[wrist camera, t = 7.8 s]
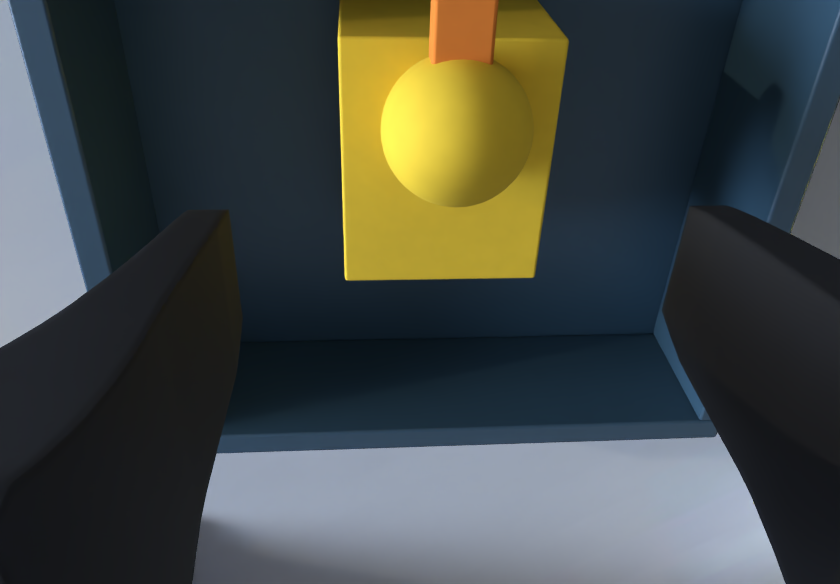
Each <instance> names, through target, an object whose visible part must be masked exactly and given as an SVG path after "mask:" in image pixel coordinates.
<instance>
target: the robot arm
mask: <svg viewBox="0 0 840 584" xmlns="http://www.w3.org/2000/svg"><path fill="white" fill-rule="evenodd" d="M662 313H663V316H664V319H665V322H666V325H667V328H668V331H669V334H670V337H671V340H672V343H673V345H674V348H675V351H676V353H677V356H678V359H679V361H680V363H681V365H682V367H683V369H684V371H685V373H686V375H687V377H688V378H689V380H690V382H691V384H692V386H693V388H694V390H695V392H696V393H697V395H698V397H699V399H700V401H701V403H702V404H703V406H704V408H705V410H706V412H707V414H708V415H709V417H710V419H711V421H712V423H713V424H714V426H715V428H716V430H717V432H718V434H719V435H720V437H721V439H722V441H723V443H724V444H725V446H726V448H727V450H728V452H729V454H730V455H731V457H732V459H733V461H734V463H735V464H736V466H737V468H738V470H739V472H740V474H741V476H742V478H743V480H744V482H745V484H746V486H747V488H748V490H749V492H750V494H751V497H752V499H753V501H754V504H755V506H756V509H757V511H758V514H759V516H760V519H761V521H762V523H763V526H764V528H765V531H766V533H767V536H768V538H769V541H770V543H771V546H772V548H773V551H774V553H775V556H776V559H777V561H778V564H779V567H780V570H781V572H782V575H783V578H784V580H785V583H786V584H840V259H838V258H836V257H834V256H832V255H830V254H828V253H826V252H824V251H822V250H820V249H818V248H816V247H814V246H812V245H810V244H808V243H807V242H805V241H803V240H801V239H799V238H797V237H795V236H793V235H791V234H789V233H787V232H785V231H783V230H781V229H779V228H777V227H775V226H773V225H771V224H769V223H767V222H765V221H763V220H761V219H759V218H757V217H755V216H752V215H750V214H748V213H746V212H743V211H741V210H738V209H736V208H733V207H730V206H727V205H716V206H689V210H688V214H687V218H686V221H685V225H684V229H683V232H682V236H681V240H680V244H679V247H678V251H677V255H676V258H675V262H674V266H673V270H672V273H671V277H670V281H669V284H668V288H667V292H666V296H665V299H664V303H663V307H662ZM242 321H243V317H242V309H241V301H240V293H239V286H238V278H237V270H236V262H235V254H234V246H233V239H232V231H231V223H230V215H229V209H220V210H187V211H185V212H184V213H183V214H181V215H180V216H179V217H178V218H177V219H175V220H174V221H173V222H172V223H171V224H170V225H168V226H167V227H166V228H165V229H164V230H163V231H162V232H161V233H159V234H158V235H157V236H156V237H155V238H154V239H153V240H151V241H150V242H149V243H148V244H147V245H146V246H144V247H143V248H142V249H141V250H140V251H138V252H137V253H136V254H135V255H134V256H133V257H131V258H130V259H129V260H128V261H127V262H125V263H124V264H123V265H122V266H121V267H119V268H118V269H117V270H116V271H114V272H113V273H112V274H110V275H109V276H108V277H106V278H105V279H104V280H102V281H101V282H100V283H98V284H97V285H96V286H94V287H93V288H92V289H90V290H89V291H88V292H86V293H85V294H84V295H82V296H81V297H80V298H78V299H77V300H76V301H74V302H73V303H72V304H70V305H69V306H67V307H66V308H65V309H63V310H62V311H60V312H59V313H57V314H56V315H54V316H53V317H51V318H49V319H48V320H46V321H45V322H43V323H42V324H40V325H38V326H37V327H35V328H33V329H32V330H30V331H28V332H27V333H25V334H23V335H22V336H20V337H18V338H17V339H15V340H13V341H12V342H10V343H8V344H6V345H4V346H3V347H1V348H0V584H192V580H193V573H194V566H195V559H196V552H197V544H198V537H199V530H200V523H201V517H202V512H203V507H204V502H205V497H206V492H207V488H208V484H209V480H210V476H211V472H212V469H213V465H214V461H215V457H216V453H217V449H218V445H219V441H220V437H221V434H222V430H223V426H224V422H225V418H226V414H227V410H228V406H229V402H230V398H231V394H232V390H233V386H234V382H235V378H236V374H237V367H238V359H239V350H240V341H241V331H242Z"/></svg>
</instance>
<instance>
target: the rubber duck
mask: <svg viewBox="0 0 840 584" xmlns="http://www.w3.org/2000/svg"><path fill="white" fill-rule="evenodd" d="M568 45H569V40H568V38H567V37H566V36H565V34H564V33H563V32H562V31H561V29H560V28H559V27H558V26H557V24H556V23H555V22H554V21H553V19H552V18H551V17H550V15H549V14H548V13H547V12H546V10H545V9H544V8H543V7H542V5H541V4H540V3H539V2H538V0H340V3H339V22H338V68H339V102H340V135H341V168H342V201H343V234H344V267H345V279H346V280H348V281H352V280H419V279H487V278H533V277H534V276H535V271H536V264H537V258H538V251H539V244H540V237H541V230H542V223H543V216H544V210H545V203H546V196H547V189H548V182H549V175H550V168H551V161H552V155H553V148H554V141H555V134H556V127H557V120H558V113H559V107H560V100H561V93H562V86H563V79H564V72H565V65H566V59H567V52H568Z"/></svg>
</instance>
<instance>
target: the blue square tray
mask: <svg viewBox="0 0 840 584" xmlns="http://www.w3.org/2000/svg"><path fill="white" fill-rule="evenodd" d="M538 2H539V3H540V4H541V5H542V7H543V8H544V9H545V10H546V12H547V13H548V14H549V15H550V17H551V18H552V19H553V21H554V22H555V23H556V24H557V26H558V27H559V28H560V29H561V31H562V32H563V33H564V34H565V36H566V37H567V38H568V40H569V45H568V52H567V59H566V65H565V72H564V79H563V86H562V93H561V100H560V107H559V113H558V120H557V127H556V134H555V141H554V148H553V155H552V161H551V168H550V175H549V182H548V189H547V196H546V203H545V210H544V216H543V223H542V230H541V237H540V244H539V251H538V258H537V264H536V271H535V276H534V277H533V278H487V279H419V280H352V281H348V280H346V279H345V267H344V234H343V201H342V168H341V135H340V102H339V68H338V22H339V3H340V0H8V4H9V8H10V11H11V15H12V19H13V22H14V26H15V30H16V33H17V37H18V41H19V44H20V48H21V52H22V55H23V59H24V63H25V66H26V70H27V74H28V77H29V81H30V85H31V88H32V92H33V96H34V99H35V103H36V107H37V110H38V114H39V118H40V121H41V125H42V129H43V132H44V136H45V140H46V143H47V147H48V151H49V154H50V158H51V162H52V165H53V169H54V173H55V176H56V180H57V184H58V187H59V191H60V195H61V198H62V202H63V206H64V209H65V213H66V217H67V220H68V224H69V228H70V231H71V235H72V239H73V242H74V246H75V250H76V253H77V257H78V261H79V264H80V268H81V272H82V275H83V279H84V283H85V286H86V290H87V292H88V291H89V290H90V289H92V288H93V287H94V286H96V285H97V284H98V283H100V282H101V281H102V280H104V279H105V278H106V277H108V276H109V275H110V274H112V273H113V272H114V271H116V270H117V269H118V268H119V267H121V266H122V265H123V264H124V263H125V262H127V261H128V260H129V259H130V258H131V257H133V256H134V255H135V254H136V253H137V252H138V251H140V250H141V249H142V248H143V247H144V246H146V245H147V244H148V243H149V242H150V241H151V240H153V239H154V238H155V237H156V236H157V235H158V234H159V233H161V232H162V231H163V230H164V229H165V228H166V227H167V226H168V225H170V224H171V223H172V222H173V221H174V220H175V219H177V218H178V217H179V216H180V215H181V214H183V213H184V212H185V211H187V210H220V209H229V215H230V223H231V231H232V239H233V246H234V254H235V262H236V270H237V278H238V286H239V293H240V301H241V309H242V317H243V321H242V331H241V341H240V350H239V359H238V367H237V374H236V378H235V382H234V386H233V390H232V394H231V398H230V402H229V406H228V410H227V414H226V418H225V422H224V426H223V430H222V434H221V437H220V441H219V445H218V449H217V453H243V452H273V451H304V450H334V449H365V448H395V447H426V446H456V445H487V444H518V443H548V442H579V441H609V440H640V439H670V438H701V437H715V436H716V434H717V430H716V428H715V426H714V424H713V423H712V421H711V419H710V417H709V415H708V414H707V412H706V410H705V408H704V406H703V404H702V403H701V401H700V399H699V397H698V395H697V393H696V392H695V390H694V388H693V386H692V384H691V382H690V380H689V378H688V377H687V375H686V373H685V371H684V369H683V367H682V365H681V363H680V361H679V359H678V356H677V353H676V351H675V348H674V345H673V343H672V340H671V337H670V334H669V331H668V328H667V325H666V322H665V319H664V316H663V313H662V307H663V303H664V299H665V296H666V292H667V288H668V284H669V281H670V277H671V273H672V270H673V266H674V262H675V258H676V255H677V251H678V247H679V244H680V240H681V236H682V232H683V229H684V225H685V221H686V218H687V214H688V210H689V206H716V205H727V206H730V207H733V208H736V209H738V210H741V211H743V212H746V213H748V214H750V215H752V216H755V217H757V218H759V219H761V220H763V221H765V222H767V223H769V224H771V225H773V226H775V227H777V228H779V229H781V230H783V231H785V232H787V233H789V234H790V233H791V230H792V227H793V225H794V222H795V219H796V216H797V214H798V211H799V208H800V206H801V203H802V200H803V197H804V195H805V192H806V189H807V187H808V184H809V181H810V178H811V176H812V173H813V170H814V167H815V165H816V162H817V159H818V157H819V154H820V151H821V148H822V146H823V143H824V140H825V138H826V135H827V132H828V129H829V127H830V124H831V121H832V119H833V116H834V113H835V110H836V108H837V105H838V102H839V99H840V0H538Z"/></svg>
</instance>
